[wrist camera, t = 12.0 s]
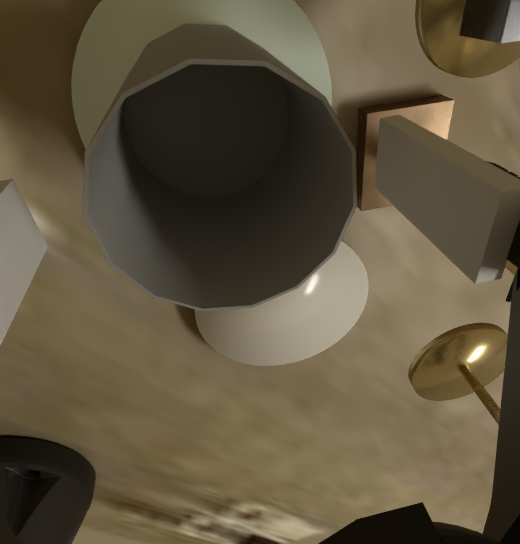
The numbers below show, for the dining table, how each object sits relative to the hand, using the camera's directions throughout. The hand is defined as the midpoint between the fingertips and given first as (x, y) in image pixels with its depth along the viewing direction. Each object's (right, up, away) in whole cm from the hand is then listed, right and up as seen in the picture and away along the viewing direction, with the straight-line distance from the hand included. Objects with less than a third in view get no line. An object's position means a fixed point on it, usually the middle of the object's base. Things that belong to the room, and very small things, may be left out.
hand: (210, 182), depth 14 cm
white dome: (+3, -5, +15) cm, 16 cm away
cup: (-1, +5, +6) cm, 7 cm away
